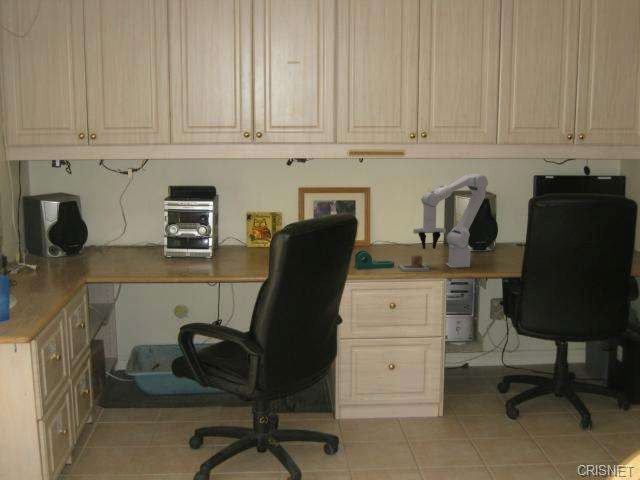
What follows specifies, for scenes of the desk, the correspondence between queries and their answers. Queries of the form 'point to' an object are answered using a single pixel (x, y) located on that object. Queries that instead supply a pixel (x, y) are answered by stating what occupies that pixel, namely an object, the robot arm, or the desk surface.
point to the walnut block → (416, 261)
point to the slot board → (408, 269)
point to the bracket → (370, 261)
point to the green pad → (426, 264)
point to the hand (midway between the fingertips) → (428, 248)
